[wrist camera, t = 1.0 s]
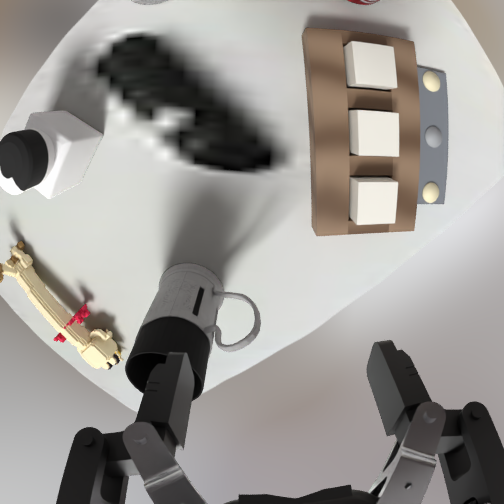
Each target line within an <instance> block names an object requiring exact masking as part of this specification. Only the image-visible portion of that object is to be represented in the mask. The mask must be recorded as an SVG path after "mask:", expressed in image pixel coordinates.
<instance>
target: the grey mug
mask: <svg viewBox="0 0 504 504" xmlns="http://www.w3.org/2000/svg"><path fill="white" fill-rule="evenodd" d="M224 298H233V299H239V300H243V301H245V302H247V303H248V304H250V305H251V306H252V308H253V310H254V315H255V322H254V327H253V329H252V330H251V332H250V333H249V334H248V335H247V336H246V337H245V338H244V339H242V340H240V341H239V342H237V343H234V344H231V345H224V344H222V343H221V330H220V328H219V327H218V326H217V325H216V320H217V314H218V310H219V309H220V307H221V306H222V303H223V300H224ZM260 325H261V320H260V313H259V311H258V309H257V306H256V305H255V303H254V302H253V301H252V300H251V299H250V298H248V297H247V296H246V295H243V294H239V293H232V292H224V290H223V286H222V284H221V282H220V280H219V279H218V278H217V276H216V275H215V274H214V273H213V272H211V271H210V270H208V269H207V268H205V267H203V266H200V265H197V264H192V263H182V264H177V265H174V266H172V267H170V268H169V269H167V270H166V271H165V272H164V274H163V275H162V277H161V279H160V282H159V290H158V292H157V294H156V296H155V298H154V300H153V302H152V304H151V306H150V308H149V310H148V313H147V315H146V317H145V319H144V321H143V323H142V325H141V327H140V329H139V332H138V334H137V337H136V340H135V344H134V347H133V349H132V351H131V353H130V355H129V358H128V360H127V362H126V365H125V371H126V375H127V377H128V379H129V381H130V382H131V383H132V384H133V385H134V387H135V388H137V389H138V390H139V391H140V392H142V393H143V394H144V391H145V388H146V385H147V384H148V379H149V376H150V373H151V371H152V370H153V369H154V368H155V366H156V365H157V364H165V363H166V359H167V356H168V354H169V352H177V353H187V354H188V358H189V361H190V365H191V368H192V372H193V375H194V391H193V397H192V401H193V400H195V399H196V398H198V397H199V396H200V395H201V393H202V391H203V387H204V381H205V375H206V369H207V363H208V358H209V357H210V354H211V350H212V344H213V338H214V332H215V341H216V344H217V346H218V347H219V348H220V349H222V350H223V351H226V352H234V351H237V350H240V349H242V348H244V347H245V346H247V345H249V344H250V343H251V342H252V341H253V340H254V339H255V338H256V336H257V335H258V333H259V331H260Z"/></svg>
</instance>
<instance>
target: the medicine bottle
mask: <svg viewBox="0 0 504 504" xmlns="http://www.w3.org/2000/svg"><path fill="white" fill-rule="evenodd" d="M102 137H103V135H102V133H100V132H98V131H97V130H95V129H94V128H92V127H91V126H89V125H88V124H86V123H85V122H83V121H81V120H80V119H78V118H77V117H75V116H74V115H72V114H70V113H69V112H67V111H49V112H37V113H32V114H30V117H29V119H28V122H27V124H26V127H25V130H22V131H17V132H12V133H9V134H7V135H6V136H4V137H3V139H2V140H1V141H0V186H1V187H2V188H3V189H4V190H5V191H6V192H8V193H10V194H13V195H17V194H20V193H22V192H24V191H26V190H29V189H31V188H33V187H34V188H35V189H36V190H38V191H39V192H40V193H41V194H43V195H44V196H45V197H47V198H48V199H50V198H52V197H54V196H56V195H58V194H60V193H62V192H64V191H66V190H68V189H70V188H72V187H74V186H77V185H79V184H80V183H81V182H82V180H83V177H84V175H85V173H86V170H87V168H88V166H89V164H90V162H91V160H92V157H93V155H94V153H95V151H96V149H97V147H98V145H99V143H100V141H101V139H102Z"/></svg>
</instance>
